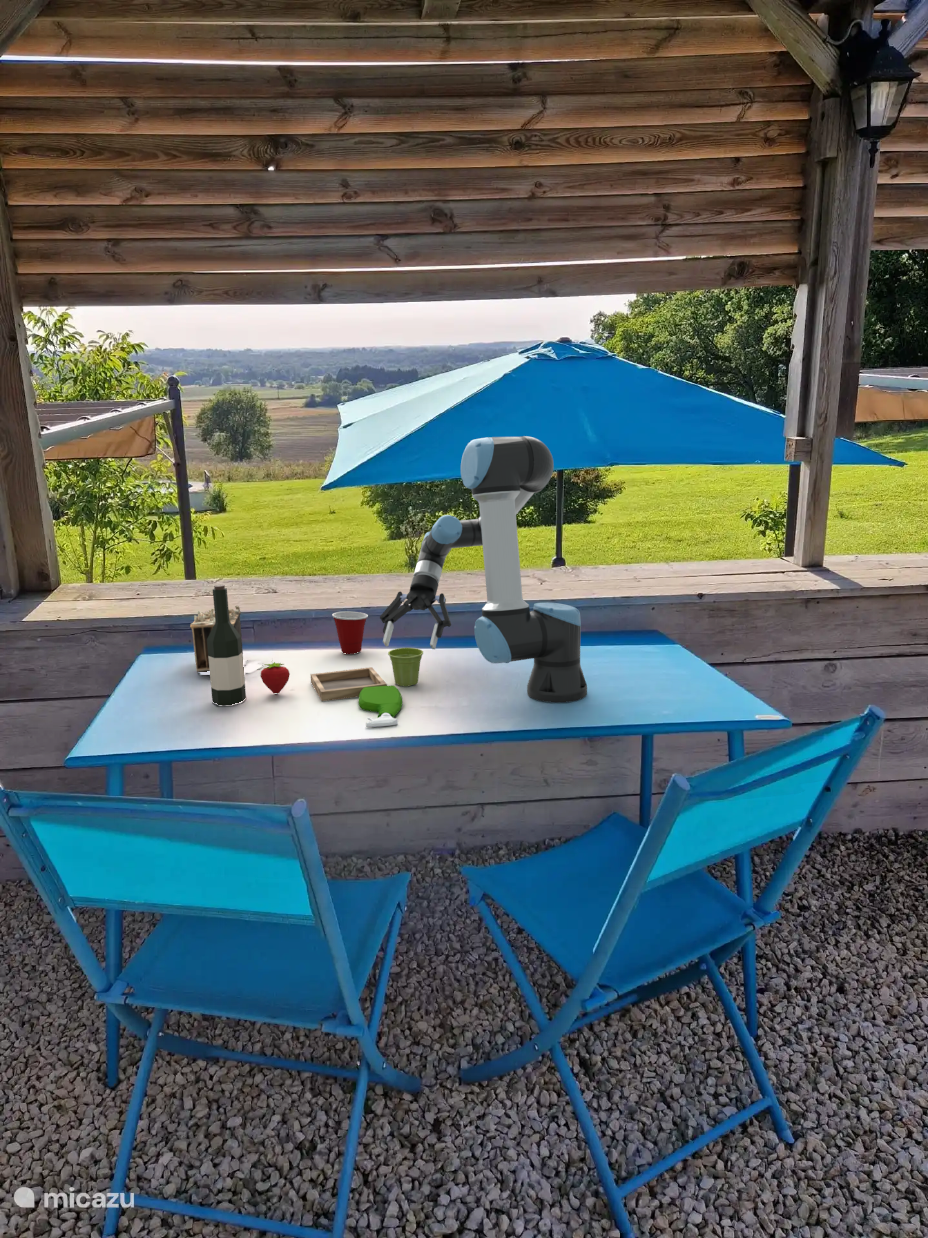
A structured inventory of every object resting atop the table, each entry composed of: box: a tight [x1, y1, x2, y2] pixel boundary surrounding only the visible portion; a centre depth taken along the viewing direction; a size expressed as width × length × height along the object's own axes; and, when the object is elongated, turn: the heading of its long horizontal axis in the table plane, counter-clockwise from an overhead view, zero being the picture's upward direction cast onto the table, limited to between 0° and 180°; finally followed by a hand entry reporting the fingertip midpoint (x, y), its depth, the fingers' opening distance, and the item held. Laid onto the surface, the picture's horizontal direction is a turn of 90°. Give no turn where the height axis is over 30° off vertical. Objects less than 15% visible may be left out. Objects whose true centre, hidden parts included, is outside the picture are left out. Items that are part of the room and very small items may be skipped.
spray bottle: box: [357, 685, 403, 728], centre depth 216 cm, size 3×11×24 cm
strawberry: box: [260, 661, 291, 694], centre depth 230 cm, size 6×8×10 cm
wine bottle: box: [207, 584, 247, 705], centre depth 223 cm, size 8×8×30 cm
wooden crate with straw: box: [189, 605, 244, 673], centre depth 256 cm, size 25×25×19 cm
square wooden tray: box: [310, 666, 388, 702], centre depth 235 cm, size 17×17×2 cm
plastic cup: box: [331, 611, 369, 655], centre depth 269 cm, size 11×11×12 cm
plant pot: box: [387, 647, 424, 687], centre depth 237 cm, size 9×9×9 cm
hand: (408, 645), depth 240 cm, fingers open, 13 cm apart
